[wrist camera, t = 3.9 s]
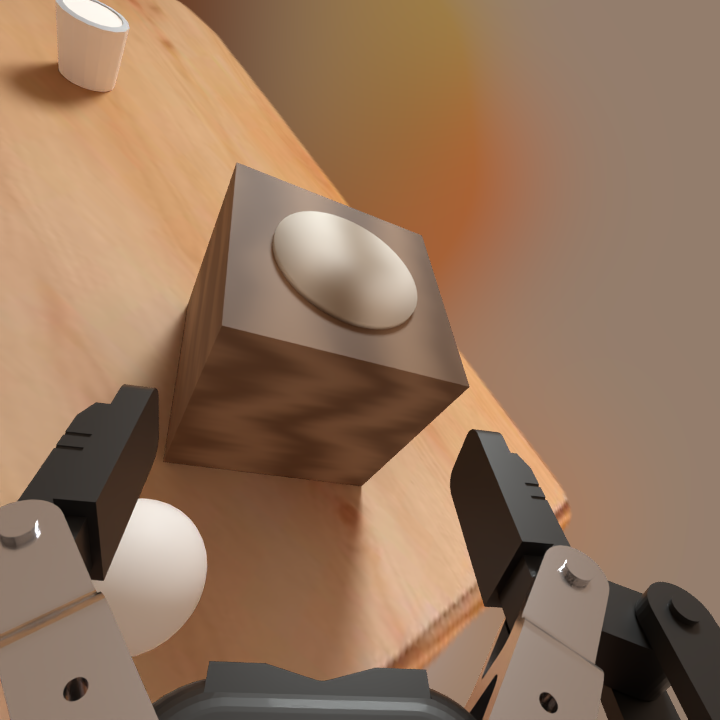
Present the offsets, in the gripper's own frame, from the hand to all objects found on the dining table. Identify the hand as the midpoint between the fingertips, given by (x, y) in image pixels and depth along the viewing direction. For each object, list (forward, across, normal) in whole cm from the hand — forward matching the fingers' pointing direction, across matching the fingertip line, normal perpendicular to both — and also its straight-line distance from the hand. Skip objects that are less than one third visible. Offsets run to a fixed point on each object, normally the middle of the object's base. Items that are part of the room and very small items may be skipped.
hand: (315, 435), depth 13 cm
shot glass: (+56, +27, -1) cm, 62 cm away
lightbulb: (+6, +8, +19) cm, 22 cm away
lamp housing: (+23, +1, +16) cm, 28 cm away
